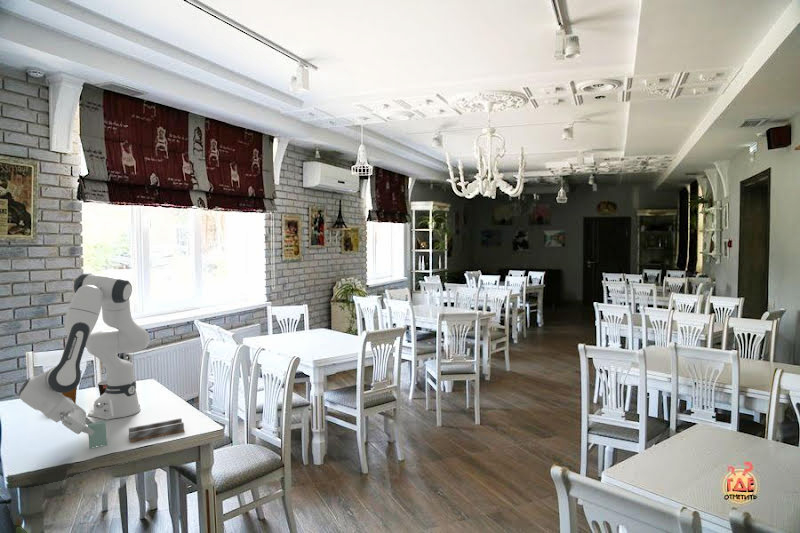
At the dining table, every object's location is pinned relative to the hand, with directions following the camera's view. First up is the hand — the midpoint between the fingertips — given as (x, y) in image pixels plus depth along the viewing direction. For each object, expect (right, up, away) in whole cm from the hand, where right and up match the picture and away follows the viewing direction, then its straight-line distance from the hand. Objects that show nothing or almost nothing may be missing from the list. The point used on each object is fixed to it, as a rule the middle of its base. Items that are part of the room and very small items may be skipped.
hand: (93, 429), depth 206 cm
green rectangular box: (+1, -7, +1) cm, 7 cm away
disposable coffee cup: (-42, -5, +52) cm, 67 cm away
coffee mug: (-25, -4, +55) cm, 60 cm away
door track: (+19, -5, +12) cm, 23 cm away
